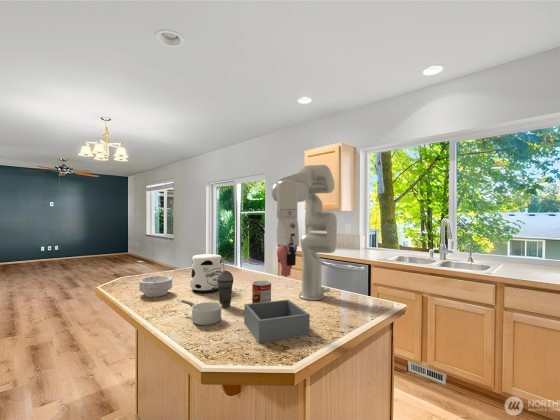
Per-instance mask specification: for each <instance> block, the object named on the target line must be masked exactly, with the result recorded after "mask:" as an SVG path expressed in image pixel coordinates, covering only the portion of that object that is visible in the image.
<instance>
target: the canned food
mask: <svg viewBox="0 0 560 420" xmlns="http://www.w3.org/2000/svg"><path fill="white" fill-rule="evenodd" d="M251 286H252V287H251V289H252V290H251V294H252V295H251V304H252V303H261V302H270V301H272V282H271V281H268V280H256V281H253V282H252V285H251Z"/></svg>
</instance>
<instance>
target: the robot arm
mask: <svg viewBox="0 0 560 420" xmlns="http://www.w3.org/2000/svg"><path fill="white" fill-rule="evenodd" d="M334 190H335V180H334V177H333V173H332V171H331V169H330V168H329V166H328V165H326V164H310V165H309V164H308V165H304V166H302V167H301V168H300V170H298V171H297V172H295V173H293V174H290V175H287V176H284V177H282V178H280V179H277V181H276V182H274V184H273V186H272V188H271V197H272V199H273V201H275V202H276V219H277V227H276V243H277V249H278V248H279V247H280V246H281V245H283V246H286V247H287V251H288V254H287V266H292V267H293V266H296V265H297V264H296V259H297V258H296V257H297V250H298V246H300V248H301V258H302V260H301V263H302V264H301V292H299V293H298V298H300V299H302V300H306V301H320V300H323V299H324V298H325V293H330V292H331V289H330V288H329V287H322V259H321V258H320V256H319V255H318V254H319V253H320V254H333V253H334V252H336V249H337V234H338V232H337V229H338V225H337V224H338V221H337V220H338V219H337V215H336V214H335V213H334V212H330V211H323V201H322V199H321V198H320V197H319V195H317V194H331V193H333V191H334ZM301 202H305V214H304V216H305V217H304V227H305V228H306V230H307V231H313V232H314V231H315V232H314V233H313V232H306V233H304V234H302V236H301V237H300V233H299V232H300V231H299V223H298V203H301ZM318 232H326V233H318ZM290 244H291V245H290ZM299 244H300V245H299ZM290 248H291V249H290ZM277 262H278V263H280V261H279V259H278V258H277Z"/></svg>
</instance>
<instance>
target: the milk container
mask: <svg viewBox="0 0 560 420" xmlns="http://www.w3.org/2000/svg"><path fill="white" fill-rule="evenodd" d="M222 270H223V259H222V255H220V254H216V253H215V254H209V253H206V254H195V255H193V256H192V259H191V275H190V278H189V286H190V288H191V290H192V291H195V292H199V293H205V292H206V293H207V292H209V293H210V292H214V291H219V290H218V283H217V278H218V275H219V274H220V273H221V272H222Z"/></svg>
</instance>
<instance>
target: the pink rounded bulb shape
mask: <svg viewBox="0 0 560 420" xmlns="http://www.w3.org/2000/svg"><path fill="white" fill-rule="evenodd" d="M290 245H291V244H290ZM290 249H291V248H290ZM287 254H288V251H287V247H286V246H283V245H281V246H280V247H279V248H278V247H277V251H276V256H277V260H278V259H279V261H280V262H279V264H280V268H281V269H280V275H281V276H284V277H285V278H287V277H289V276H291V271H292V270H291V269H292V268H293V266H287Z"/></svg>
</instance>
